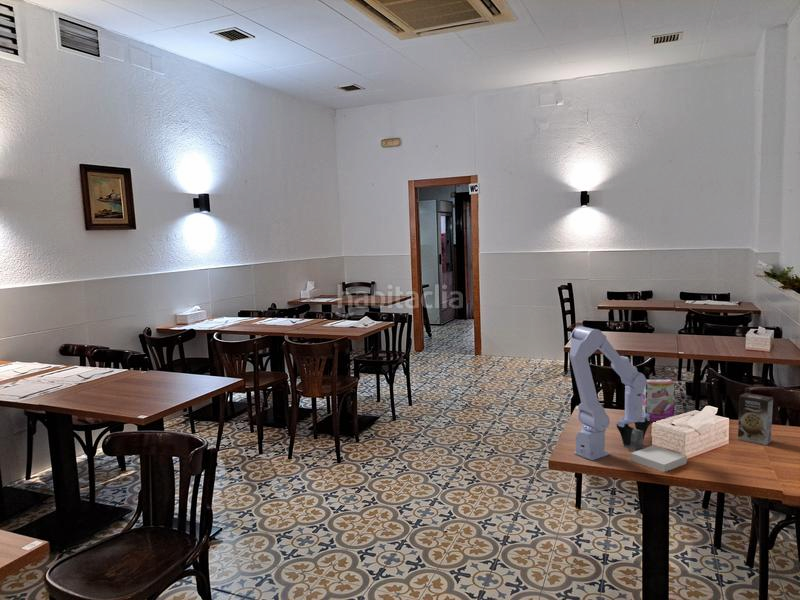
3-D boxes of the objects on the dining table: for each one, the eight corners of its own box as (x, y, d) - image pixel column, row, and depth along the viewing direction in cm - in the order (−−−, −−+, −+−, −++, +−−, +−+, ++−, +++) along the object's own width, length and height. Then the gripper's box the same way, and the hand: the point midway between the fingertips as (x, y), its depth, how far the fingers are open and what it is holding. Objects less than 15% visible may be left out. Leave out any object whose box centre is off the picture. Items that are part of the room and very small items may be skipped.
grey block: (634, 450, 195) (635, 433, 194) (623, 446, 199) (623, 430, 198) (642, 447, 197) (643, 431, 197) (631, 443, 201) (631, 427, 201)
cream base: (664, 472, 176) (664, 464, 176) (630, 460, 186) (630, 453, 186) (686, 463, 182) (686, 455, 182) (653, 452, 193) (653, 445, 192)
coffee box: (737, 439, 202) (738, 395, 200) (743, 435, 206) (744, 392, 204) (766, 445, 195) (767, 400, 193) (772, 441, 199) (773, 396, 198)
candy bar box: (645, 422, 223) (645, 382, 221) (641, 418, 228) (641, 379, 226) (674, 422, 222) (675, 382, 220) (670, 418, 227) (670, 378, 225)
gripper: (630, 411, 189) (630, 450, 191) (656, 403, 197) (656, 441, 198) (612, 406, 195) (612, 444, 197) (639, 399, 203) (638, 435, 204)
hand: (633, 442), depth 198 cm, fingers open, 7 cm apart
